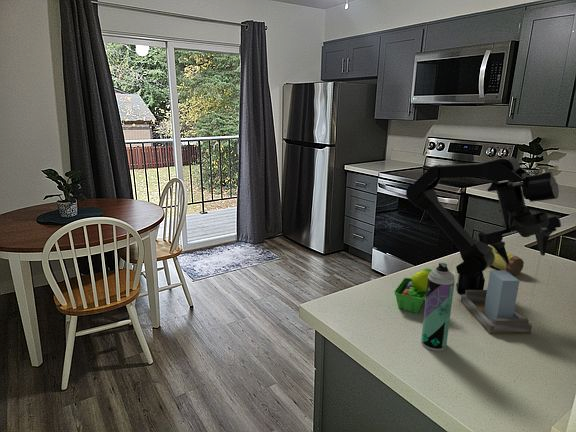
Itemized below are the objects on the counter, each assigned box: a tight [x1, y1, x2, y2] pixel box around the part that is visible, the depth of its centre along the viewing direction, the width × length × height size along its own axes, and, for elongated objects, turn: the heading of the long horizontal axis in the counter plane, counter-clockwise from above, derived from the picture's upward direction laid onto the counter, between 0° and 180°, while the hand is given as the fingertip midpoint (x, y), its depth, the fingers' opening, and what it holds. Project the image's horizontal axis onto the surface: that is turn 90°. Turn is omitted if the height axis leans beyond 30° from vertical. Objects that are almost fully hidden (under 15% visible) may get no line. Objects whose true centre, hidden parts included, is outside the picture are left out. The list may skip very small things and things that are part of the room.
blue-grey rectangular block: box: [484, 269, 520, 322], centre depth 97 cm, size 6×4×12 cm, turn 0°
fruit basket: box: [393, 267, 432, 314], centre depth 105 cm, size 11×9×11 cm
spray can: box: [420, 262, 456, 352], centre depth 86 cm, size 6×6×20 cm
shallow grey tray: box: [460, 289, 533, 335], centre depth 100 cm, size 16×10×4 cm, turn 0°
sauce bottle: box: [488, 245, 525, 276], centre depth 133 cm, size 6×6×20 cm
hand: (525, 259), depth 103 cm, fingers open, 9 cm apart
